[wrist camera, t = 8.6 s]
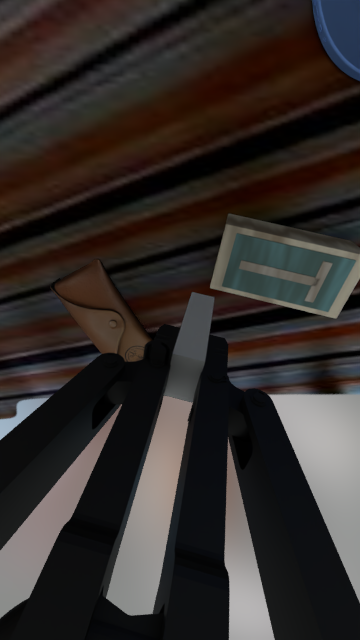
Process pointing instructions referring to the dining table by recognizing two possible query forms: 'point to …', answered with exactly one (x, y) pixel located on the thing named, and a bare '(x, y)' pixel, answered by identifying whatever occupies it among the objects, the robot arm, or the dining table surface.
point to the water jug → (340, 32)
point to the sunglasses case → (102, 311)
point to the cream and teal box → (286, 266)
